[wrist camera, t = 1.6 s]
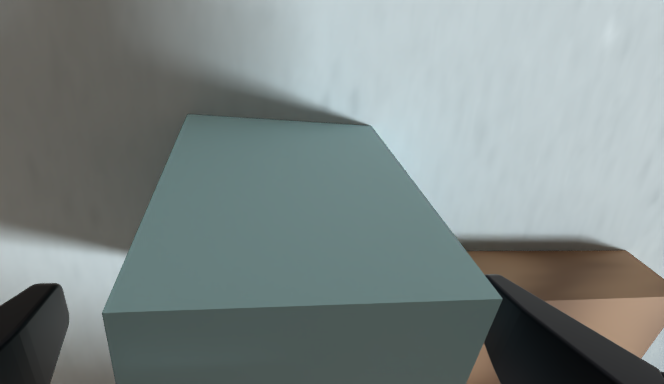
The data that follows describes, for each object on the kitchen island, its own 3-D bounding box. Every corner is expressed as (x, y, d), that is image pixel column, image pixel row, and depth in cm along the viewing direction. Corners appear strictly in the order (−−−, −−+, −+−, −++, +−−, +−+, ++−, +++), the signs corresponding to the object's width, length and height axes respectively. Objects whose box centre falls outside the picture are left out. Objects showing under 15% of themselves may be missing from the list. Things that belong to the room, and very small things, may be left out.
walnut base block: (618, 244, 16) (686, 296, 14) (530, 398, 21) (569, 458, 18) (387, 244, 14) (416, 305, 12) (346, 415, 19) (361, 486, 16)
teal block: (370, 125, 11) (502, 299, 5) (346, 263, 14) (419, 490, 8) (187, 113, 10) (102, 312, 4) (194, 265, 13) (144, 529, 7)
